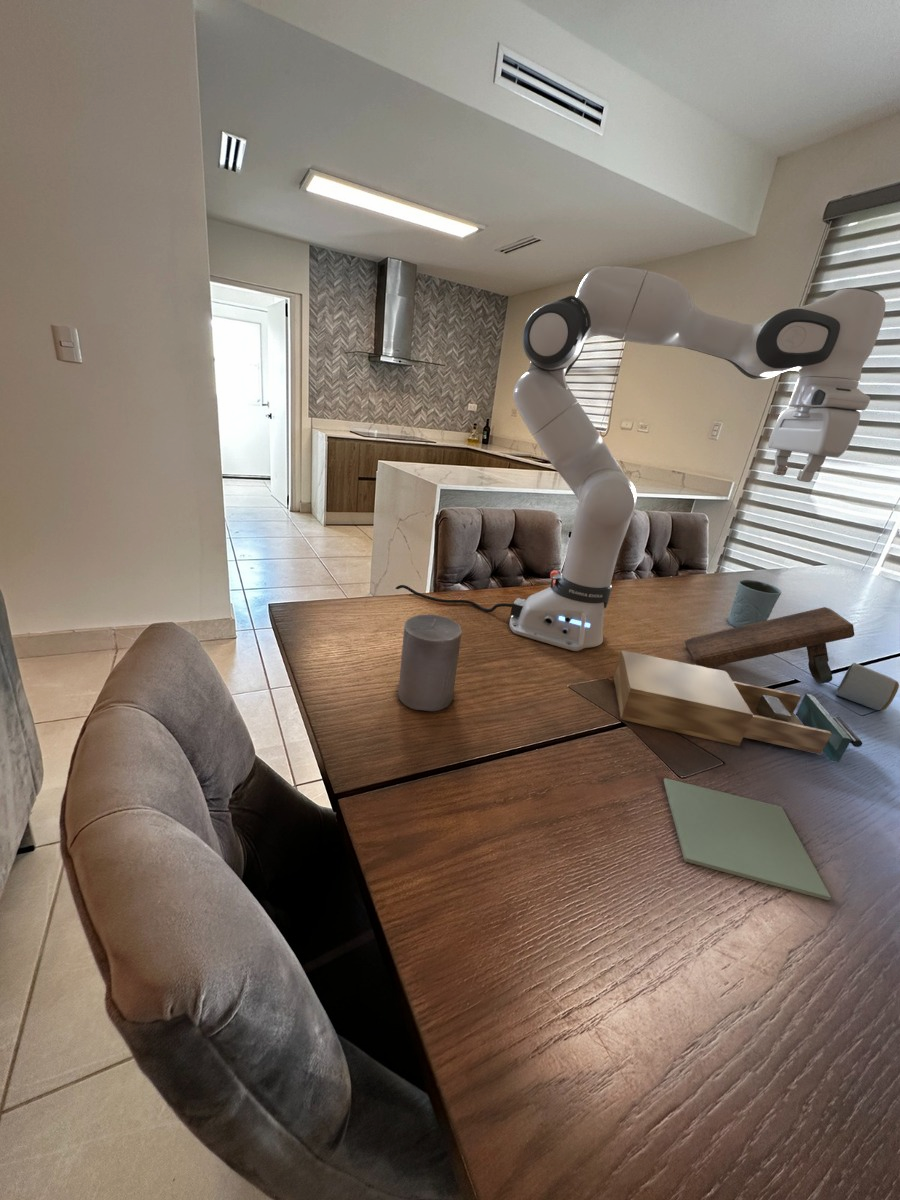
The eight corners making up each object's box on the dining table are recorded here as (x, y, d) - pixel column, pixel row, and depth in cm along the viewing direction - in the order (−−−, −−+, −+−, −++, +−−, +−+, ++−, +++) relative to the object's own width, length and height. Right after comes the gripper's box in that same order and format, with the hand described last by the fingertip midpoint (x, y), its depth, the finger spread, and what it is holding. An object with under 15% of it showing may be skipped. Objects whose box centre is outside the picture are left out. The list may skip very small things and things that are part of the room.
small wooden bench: (709, 716, 108) (864, 688, 98) (694, 658, 103) (855, 623, 94) (697, 692, 117) (837, 665, 108) (683, 638, 113) (828, 604, 103)
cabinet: (715, 699, 93) (726, 671, 91) (739, 746, 80) (753, 714, 77) (613, 678, 96) (621, 649, 94) (620, 719, 83) (630, 688, 81)
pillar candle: (427, 675, 89) (435, 603, 83) (464, 700, 83) (475, 624, 77) (386, 692, 83) (392, 614, 77) (422, 720, 76) (432, 638, 71)
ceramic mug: (884, 718, 94) (902, 685, 91) (834, 699, 99) (850, 667, 96) (883, 699, 101) (901, 669, 99) (837, 683, 106) (852, 653, 103)
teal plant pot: (765, 625, 134) (781, 586, 129) (765, 637, 126) (782, 596, 121) (725, 614, 138) (740, 576, 134) (723, 625, 130) (738, 585, 126)
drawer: (825, 720, 89) (836, 699, 87) (866, 768, 77) (880, 745, 75) (699, 693, 93) (707, 673, 91) (719, 735, 81) (729, 712, 79)
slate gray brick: (767, 729, 82) (775, 712, 81) (755, 710, 87) (762, 694, 86) (783, 733, 82) (792, 716, 80) (770, 713, 87) (777, 697, 86)
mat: (684, 861, 57) (685, 858, 57) (663, 780, 70) (664, 777, 70) (829, 901, 54) (831, 897, 54) (780, 809, 67) (781, 806, 67)
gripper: (774, 398, 93) (749, 469, 98) (834, 394, 74) (799, 482, 79) (808, 402, 92) (781, 473, 97) (878, 398, 73) (840, 488, 79)
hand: (790, 478), depth 88 cm, fingers open, 8 cm apart
